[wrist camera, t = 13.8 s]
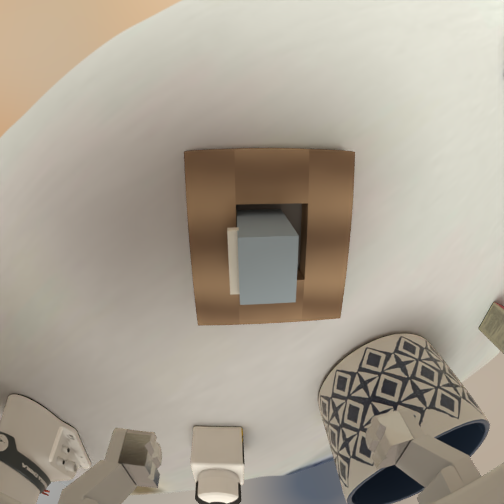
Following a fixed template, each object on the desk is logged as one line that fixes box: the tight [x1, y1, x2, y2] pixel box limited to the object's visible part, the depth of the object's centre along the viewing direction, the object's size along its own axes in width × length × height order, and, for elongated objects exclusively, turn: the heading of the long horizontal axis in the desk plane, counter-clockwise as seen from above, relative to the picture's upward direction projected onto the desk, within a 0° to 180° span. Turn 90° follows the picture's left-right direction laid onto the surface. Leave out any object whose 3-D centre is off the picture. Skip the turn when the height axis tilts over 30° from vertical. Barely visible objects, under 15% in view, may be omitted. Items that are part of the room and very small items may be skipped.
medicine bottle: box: [190, 426, 244, 504], centre depth 34 cm, size 7×7×12 cm
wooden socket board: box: [184, 148, 355, 325], centre depth 27 cm, size 16×14×3 cm
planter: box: [318, 333, 490, 504], centre depth 30 cm, size 18×18×16 cm
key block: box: [227, 209, 299, 305], centre depth 24 cm, size 5×5×8 cm
